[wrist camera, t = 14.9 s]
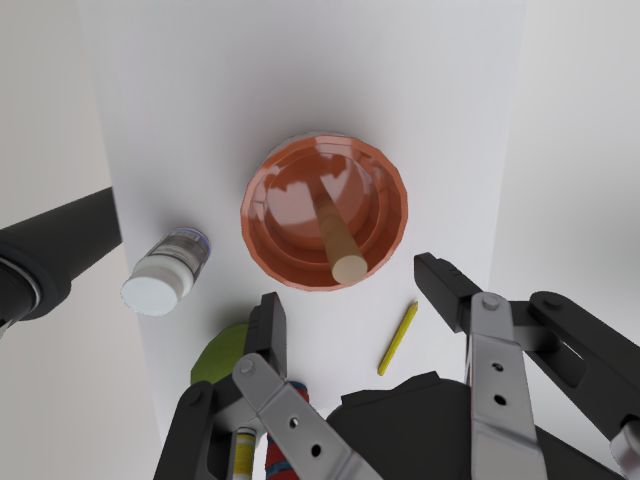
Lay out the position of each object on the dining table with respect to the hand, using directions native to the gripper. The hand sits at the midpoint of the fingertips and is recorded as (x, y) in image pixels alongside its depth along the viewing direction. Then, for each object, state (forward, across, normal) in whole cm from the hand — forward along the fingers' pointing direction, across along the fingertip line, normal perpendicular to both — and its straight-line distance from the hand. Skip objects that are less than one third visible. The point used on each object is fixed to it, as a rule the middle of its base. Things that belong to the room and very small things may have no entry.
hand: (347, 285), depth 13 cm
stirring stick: (+13, -1, 0) cm, 13 cm away
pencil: (+14, -7, +25) cm, 29 cm away
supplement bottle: (+14, +25, +42) cm, 51 cm away
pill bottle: (+14, +15, +1) cm, 20 cm away
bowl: (+14, 0, 0) cm, 14 cm away
